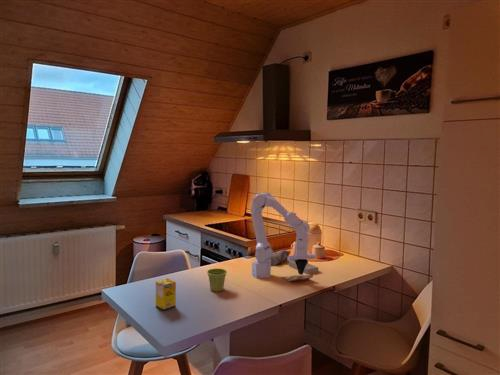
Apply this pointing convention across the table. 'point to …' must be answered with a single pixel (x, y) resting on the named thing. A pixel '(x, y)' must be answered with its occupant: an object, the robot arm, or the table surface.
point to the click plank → (299, 278)
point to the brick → (308, 268)
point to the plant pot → (216, 279)
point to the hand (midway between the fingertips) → (300, 273)
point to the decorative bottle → (279, 257)
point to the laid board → (290, 277)
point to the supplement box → (165, 294)
